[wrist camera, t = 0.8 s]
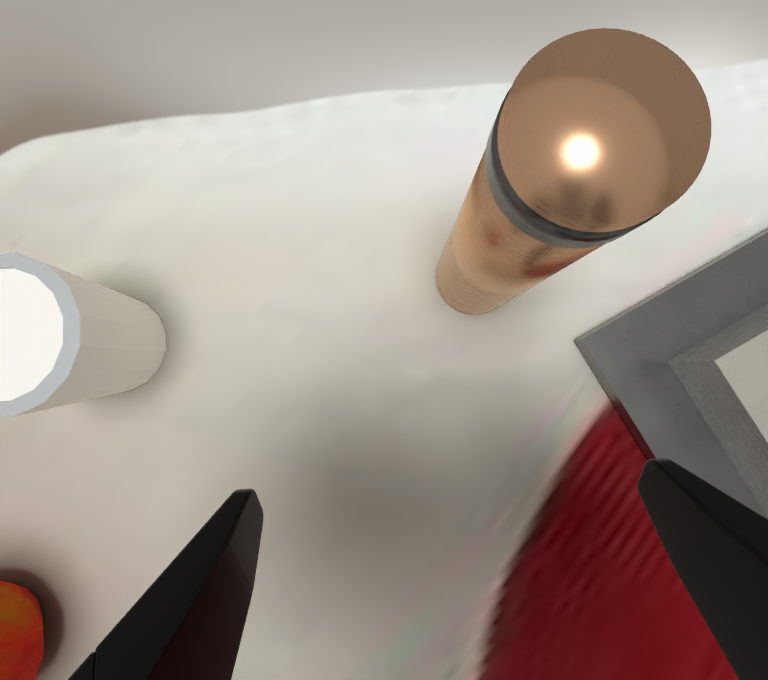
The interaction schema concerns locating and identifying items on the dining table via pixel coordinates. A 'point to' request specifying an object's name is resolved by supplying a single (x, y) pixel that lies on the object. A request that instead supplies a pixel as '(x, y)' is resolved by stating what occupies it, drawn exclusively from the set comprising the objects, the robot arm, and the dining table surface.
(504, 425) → the dining table surface
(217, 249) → the dining table surface
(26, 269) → the shot glass
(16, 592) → the apple
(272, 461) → the dining table surface
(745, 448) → the frame
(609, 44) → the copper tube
